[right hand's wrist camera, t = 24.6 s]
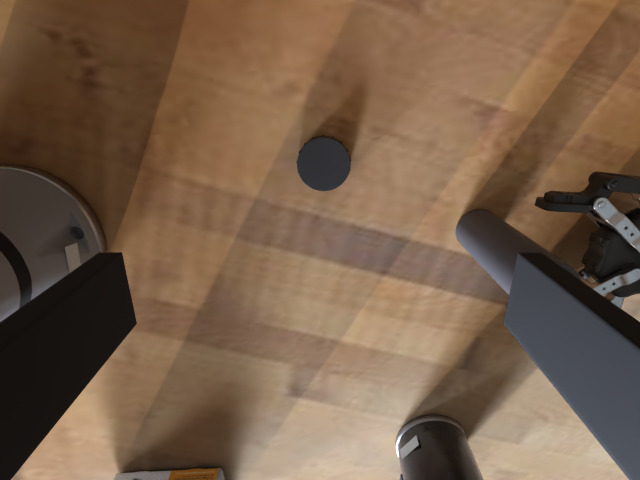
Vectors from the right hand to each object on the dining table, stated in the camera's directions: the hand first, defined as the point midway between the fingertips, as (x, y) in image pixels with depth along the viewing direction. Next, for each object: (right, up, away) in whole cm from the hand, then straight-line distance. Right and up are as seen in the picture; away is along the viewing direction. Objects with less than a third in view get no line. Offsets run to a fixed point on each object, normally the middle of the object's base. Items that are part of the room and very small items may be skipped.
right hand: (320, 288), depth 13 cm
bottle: (+17, +3, +27) cm, 32 cm away
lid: (0, +9, +23) cm, 25 cm away
